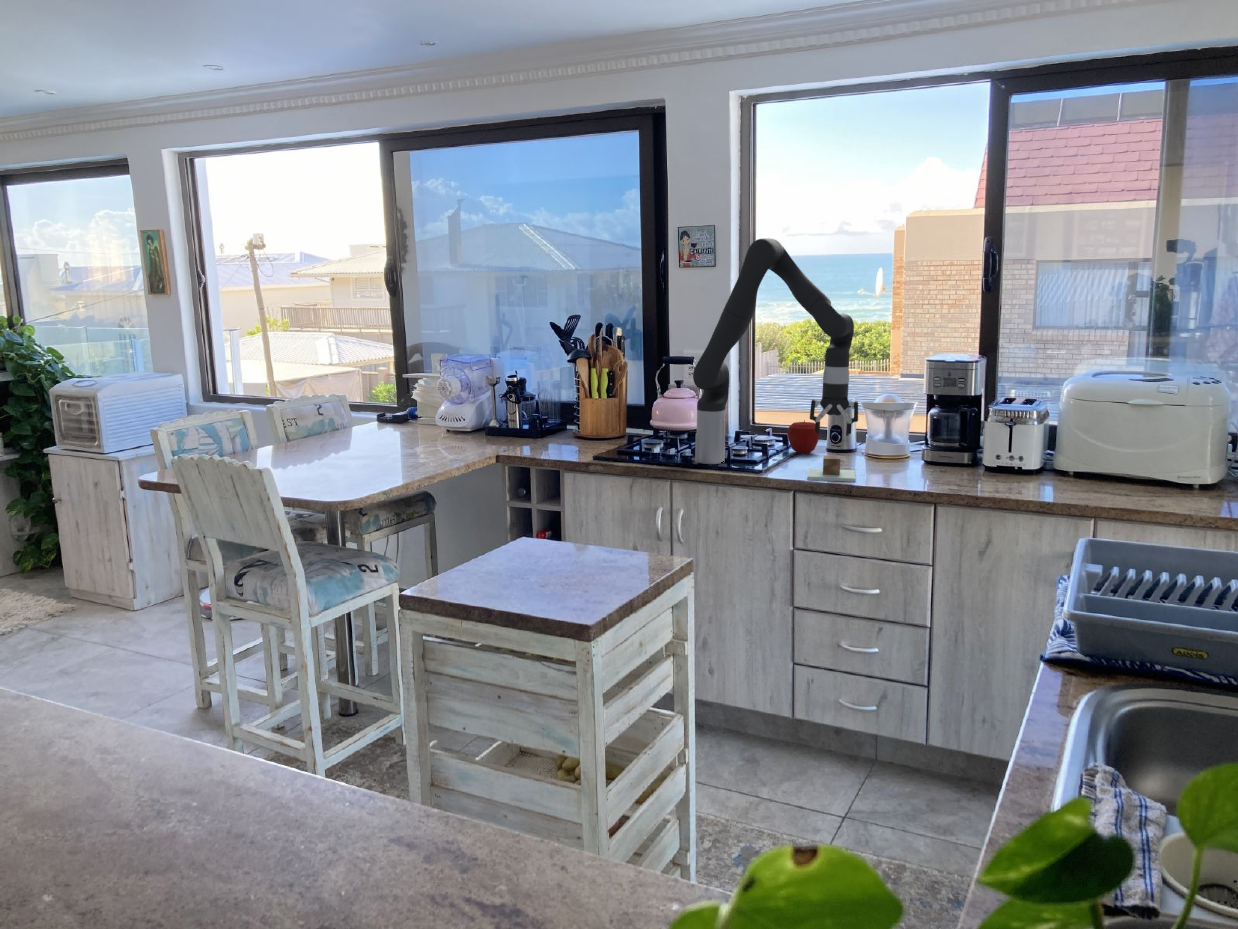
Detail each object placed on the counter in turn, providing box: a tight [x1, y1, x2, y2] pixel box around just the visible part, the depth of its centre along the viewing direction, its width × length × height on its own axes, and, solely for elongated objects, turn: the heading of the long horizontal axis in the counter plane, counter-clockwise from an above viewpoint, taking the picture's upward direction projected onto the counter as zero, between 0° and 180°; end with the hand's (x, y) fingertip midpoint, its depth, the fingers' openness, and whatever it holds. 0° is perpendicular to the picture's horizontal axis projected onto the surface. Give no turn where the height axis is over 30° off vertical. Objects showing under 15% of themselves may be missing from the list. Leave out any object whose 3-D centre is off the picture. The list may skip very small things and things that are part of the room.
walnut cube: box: [822, 455, 841, 475], centre depth 296 cm, size 5×5×5 cm
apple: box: [786, 419, 821, 455], centre depth 332 cm, size 11×11×12 cm
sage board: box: [807, 468, 857, 483], centre depth 296 cm, size 14×12×1 cm
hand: (832, 434), depth 294 cm, fingers open, 8 cm apart
